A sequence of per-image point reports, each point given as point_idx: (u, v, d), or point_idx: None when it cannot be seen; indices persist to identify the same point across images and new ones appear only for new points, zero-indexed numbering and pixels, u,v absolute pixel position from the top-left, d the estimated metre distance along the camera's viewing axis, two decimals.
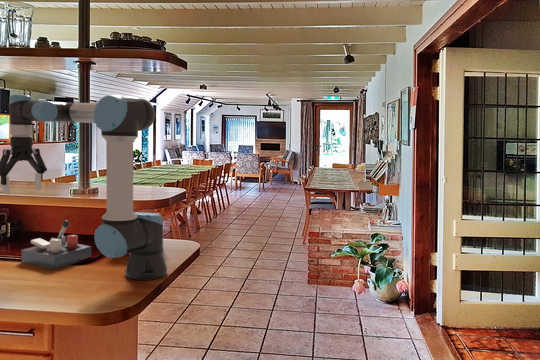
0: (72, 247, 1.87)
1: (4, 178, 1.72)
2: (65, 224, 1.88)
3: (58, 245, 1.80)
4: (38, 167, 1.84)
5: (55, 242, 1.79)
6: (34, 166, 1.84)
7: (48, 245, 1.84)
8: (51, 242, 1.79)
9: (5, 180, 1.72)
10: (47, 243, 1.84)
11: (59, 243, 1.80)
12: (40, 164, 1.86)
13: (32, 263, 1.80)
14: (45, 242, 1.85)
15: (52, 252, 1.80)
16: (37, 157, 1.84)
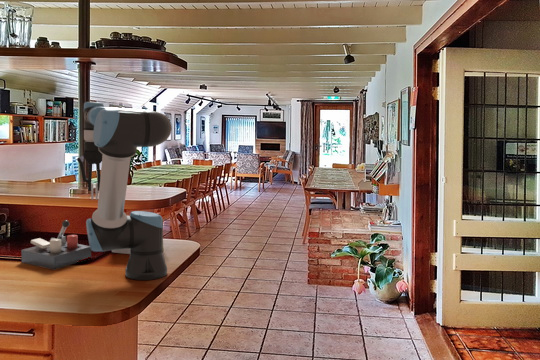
0: (72, 247, 1.87)
1: (89, 185, 1.89)
2: (65, 224, 1.88)
3: (58, 245, 1.80)
4: (98, 176, 1.89)
5: (55, 242, 1.79)
6: None
7: (48, 245, 1.84)
8: (51, 242, 1.79)
9: (90, 187, 1.89)
10: (47, 243, 1.84)
11: (59, 243, 1.80)
12: None
13: (32, 263, 1.80)
14: (45, 242, 1.85)
15: (52, 252, 1.80)
16: None
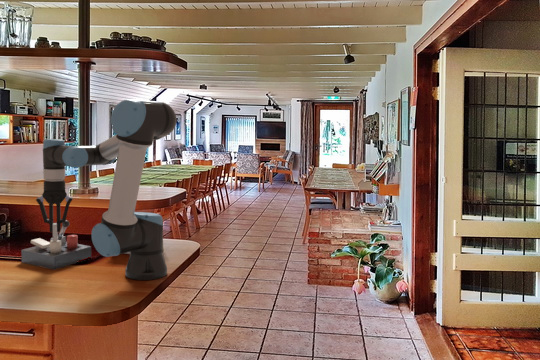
0: (72, 247, 1.87)
1: (50, 226, 1.79)
2: (65, 224, 1.88)
3: (58, 246, 1.80)
4: (58, 216, 1.79)
5: (55, 243, 1.79)
6: None
7: (48, 245, 1.84)
8: (51, 243, 1.79)
9: (51, 228, 1.79)
10: (47, 243, 1.84)
11: (59, 244, 1.80)
12: None
13: (32, 263, 1.80)
14: (45, 242, 1.85)
15: (52, 253, 1.80)
16: None
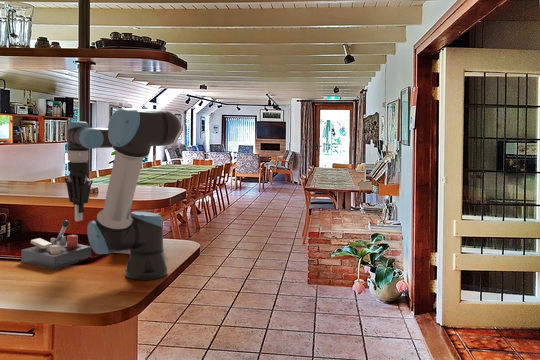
0: (72, 247, 1.87)
1: (74, 205, 1.85)
2: (65, 224, 1.88)
3: (58, 251, 1.80)
4: (78, 197, 1.83)
5: (55, 248, 1.80)
6: None
7: (48, 245, 1.84)
8: (51, 248, 1.80)
9: None
10: (47, 243, 1.84)
11: (59, 249, 1.81)
12: None
13: (32, 263, 1.80)
14: (45, 242, 1.85)
15: None
16: None
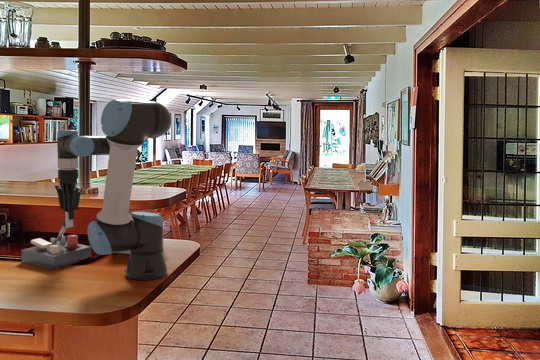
0: (72, 247, 1.87)
1: (65, 212, 1.88)
2: (65, 224, 1.88)
3: (58, 251, 1.80)
4: (68, 204, 1.86)
5: (55, 248, 1.80)
6: None
7: (48, 245, 1.84)
8: (51, 248, 1.80)
9: None
10: (47, 243, 1.84)
11: (59, 249, 1.81)
12: None
13: (32, 263, 1.80)
14: (45, 242, 1.85)
15: None
16: None
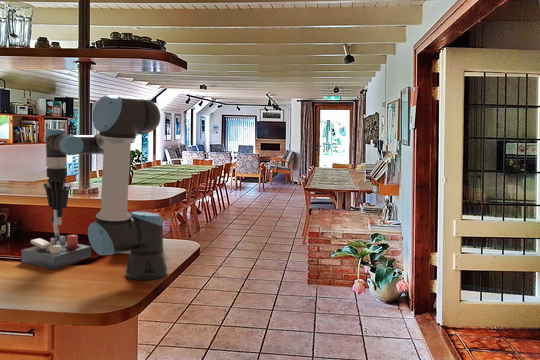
0: (72, 247, 1.87)
1: (53, 210, 1.91)
2: (53, 218, 1.91)
3: (58, 251, 1.80)
4: (57, 202, 1.89)
5: (55, 248, 1.80)
6: None
7: (48, 245, 1.84)
8: (51, 248, 1.80)
9: None
10: (47, 243, 1.84)
11: (59, 249, 1.81)
12: None
13: (32, 263, 1.80)
14: (45, 242, 1.85)
15: None
16: None
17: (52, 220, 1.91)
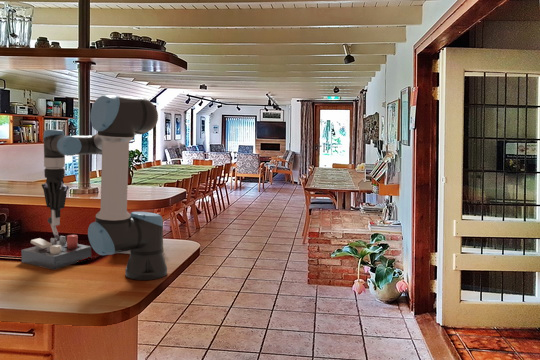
0: (72, 247, 1.87)
1: (51, 211, 1.91)
2: (50, 219, 1.91)
3: (58, 251, 1.80)
4: (55, 202, 1.89)
5: (55, 248, 1.80)
6: None
7: (48, 245, 1.84)
8: (51, 248, 1.80)
9: None
10: (47, 243, 1.84)
11: (59, 249, 1.81)
12: None
13: (32, 263, 1.80)
14: (45, 242, 1.85)
15: None
16: None
17: (49, 221, 1.91)
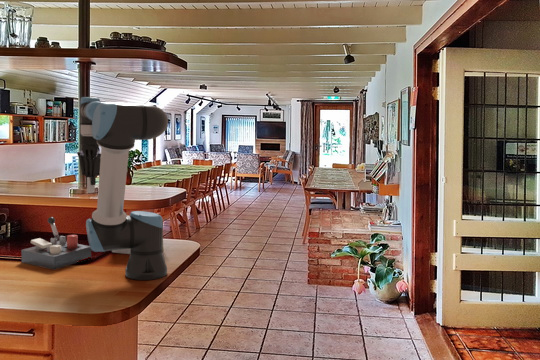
0: (72, 247, 1.87)
1: (87, 178, 1.93)
2: (50, 219, 1.91)
3: (58, 251, 1.80)
4: (90, 170, 1.91)
5: (55, 248, 1.80)
6: None
7: (48, 245, 1.84)
8: (51, 248, 1.80)
9: None
10: (47, 243, 1.84)
11: (59, 249, 1.81)
12: None
13: (32, 263, 1.80)
14: (45, 242, 1.85)
15: None
16: None
17: (49, 221, 1.91)
